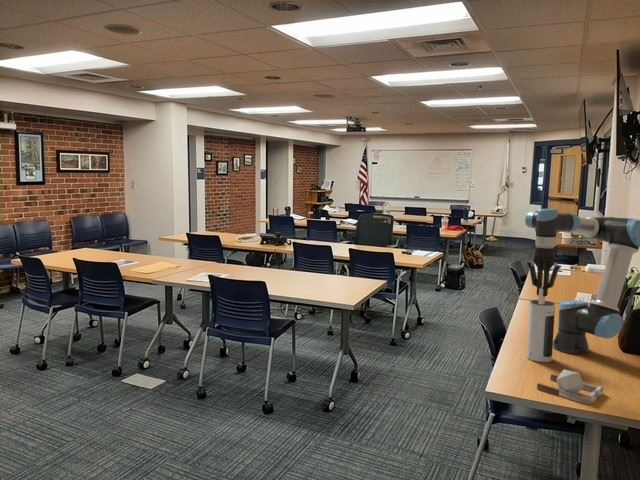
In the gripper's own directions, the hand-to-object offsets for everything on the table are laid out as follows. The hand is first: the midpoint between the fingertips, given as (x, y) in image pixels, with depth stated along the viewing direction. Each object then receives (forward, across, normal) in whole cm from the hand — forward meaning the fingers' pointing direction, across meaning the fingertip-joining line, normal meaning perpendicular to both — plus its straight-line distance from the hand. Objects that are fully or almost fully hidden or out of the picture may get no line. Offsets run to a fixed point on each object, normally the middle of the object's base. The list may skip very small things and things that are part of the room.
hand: (541, 303), depth 202 cm
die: (+29, +18, -14) cm, 36 cm away
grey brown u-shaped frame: (+28, +17, -12) cm, 35 cm away
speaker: (+29, -5, +14) cm, 32 cm away
